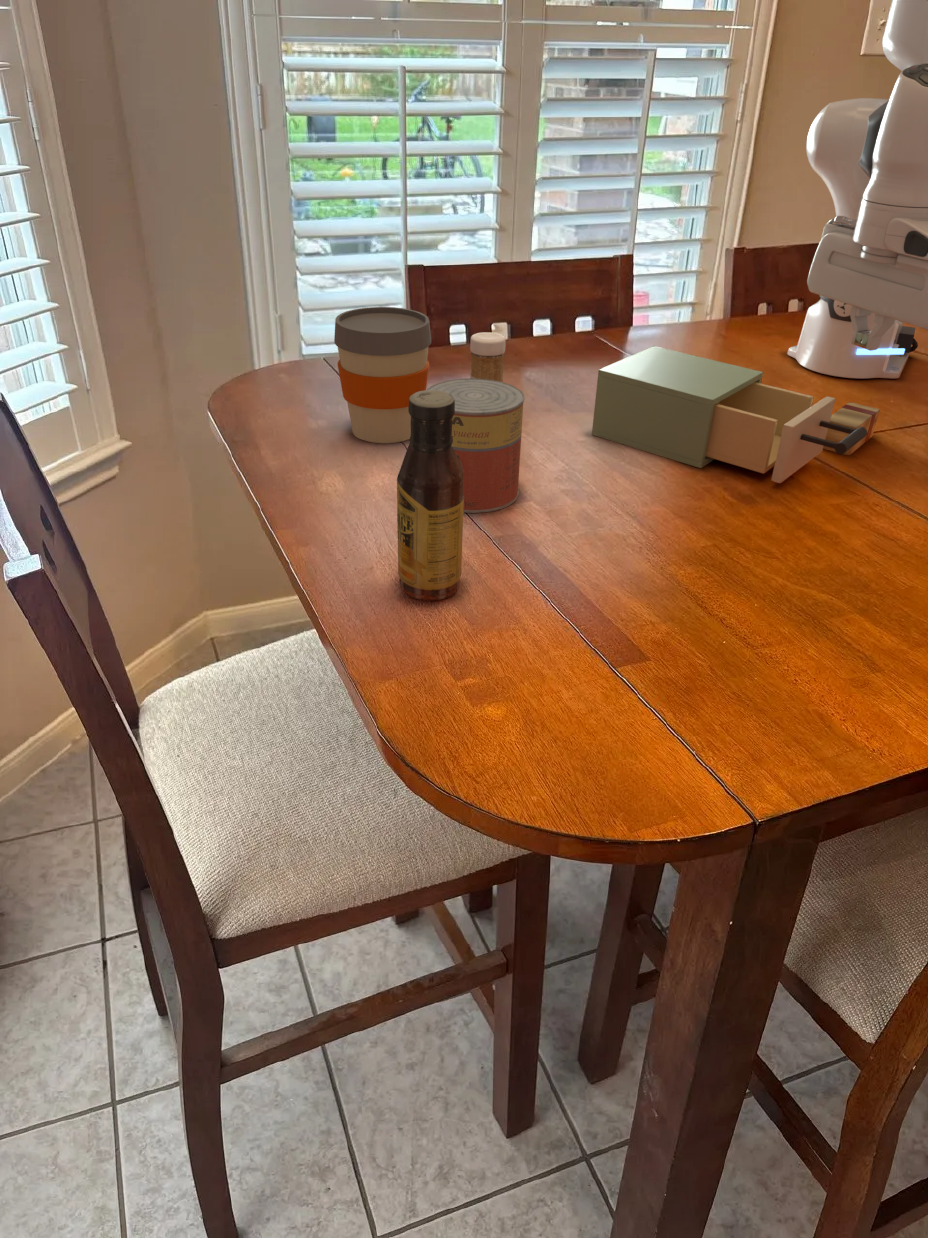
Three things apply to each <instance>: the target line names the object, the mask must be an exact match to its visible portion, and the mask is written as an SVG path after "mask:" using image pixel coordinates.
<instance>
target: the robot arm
mask: <svg viewBox="0 0 928 1238" xmlns="http://www.w3.org/2000/svg"><path fill="white" fill-rule="evenodd" d="M888 12H889V13H888V16H887V19H886V23H885V28H884V32H883V36H882V51H883V53H884V57H886V59H887V61H889V62H890V64H892V65H893V66H895V67H896V68H897V69H898V70H900V73H899V74H898V76H897V78H896V81H895V83H894V86H893V88H892V91H891V93H890V96H889V98H875V97H874V98H873V97H872V98H871V97H858V98H851V99H844V100H836V101H833V102H829V103H828V104H827V105H825V106H824V107H823V108H822V109H821V110H820V111H819V112H818V114H817V115H816V116H815V118H814V119H813V121H812V123H811V125H810V127H809V129H808V132H807V137H806V145H805V146H806V157H807V159H808V163H809V164H810V165H809V166H810V167H811V169H812V170H813V171H814V172H815V173H816V175H818V176H819V178H820V179H821V180H822V181H823V183H824V184H825V186H826V187H827V189H828V191H829V193H830V196H831V198H832V201H833V206H834V210H835V211H834V212H835V217H834V218H832V219H830V220H829V221H828V222H827V223H825V225H824V227H823V231H822V234H821V239H820V241H819V243H818V245H817V248H816V251H815V253H814V256H813V258H812V262H811V264H810V268H809V272H808V274H807V275H808V276H807V280H806V284H807V288H808V290H809V292H810V293H812V294H815V295H818V296H819V298H820V299H819V300H818V301H817V302H816V303H814V304H812V305H811V306H808V309H807V311H806V313H805V318H804V320H803V321H804V322H803V325H802V328H801V332H800V335H799V338H798V342H797V345H794V346H791V347H789V348H788V350H787V352H786V354H787V355H788V356H789V357H792V358H793V359H795V360H796V361H797V363H798V364H799V365H800V366H802V367H804V368H806V369H808V370H810V371H812V372H816V373H819V374H822V375H823V374H824V375H827V376H833V377H838V378H847V379H879V378H880V379H899V378H901V374H902V372H903V370H904V368H905V366H906V364H907V362H908V359H909V356H910V353H912V352H914V351H916V350H917V349H918V347H919V344H918V341H917V340H916V339H915V334H916V327H917V328H920V329H923V330H926V331H928V0H891V2H890V6H889V11H888ZM904 323H905V324H908V325H909V326H907V325H906V326H905V325H904ZM910 325H911V326H910ZM913 326H914V327H913Z"/></svg>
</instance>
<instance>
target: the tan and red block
mask: <svg viewBox="0 0 928 1238" xmlns="http://www.w3.org/2000/svg"><path fill="white" fill-rule="evenodd" d="M880 411H881V409H880V408H877V407H872V406H868V405H864V404H860V403H856V402H853V401H849V402H848V403H846V404H844V405H843V406H841V408H840V409H838V410H837V411H835V412H834V413H832V415H831V418H830V423H834V424H838V425H842V426H845V427H849V428H853V429H855V430H856V429H857V428H859V427H864V428H865V429H866V430H867V435H866V436H865V437H864V438H863V439H862V440H860V441H859V442H858V443H857V444H855V445H854V446H853V447H852V448H850V449H849V450H848V451H846V452H845V453H844V454H843V455H845V456H848V457H849V456H851V455H852V454H853V453H854V452H855V451H857V450H858V449H859V448H861V446H863V445H864V444H866V443H867V442H869V440H870V439H872V437H873V436H874V432H875V429H876V426H877V422H878V418H879V414H880ZM848 435H849V434H848V433H844V432H841V431H837V430H833V429H829V428H828V430H827V434H826V438H825V440H828V441H832V442H836V443H839V442H840V441H841V440H843V439H844V438H845V437H847V436H848ZM823 450H826V451H829V452H834V453H836V451H835V449H834V448H830V447H826V446H823Z"/></svg>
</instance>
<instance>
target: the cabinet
mask: <svg viewBox="0 0 928 1238" xmlns="http://www.w3.org/2000/svg"><path fill="white" fill-rule="evenodd" d="M597 371H598V372H597V381H596V390H595V391H596V392H595V399H594V402H595V403H594V408H593V409H594V410H593V419H592V427H591V428H592V430H591V435H592V436H594V437H598V438H601V439H605V440H607V441H611V442H614V443H618V444H620V445H624V446H627V447H630V448H633V449H637V450H640V451H643V452H647V453H650V454H652V455H653V454H654V455H657V456H660V457H662V458H666V459H669V460H673V461H675V462H678V463H681V464H685V465H689V466H692V467H695V468H698V469H702V468H703V467H705V466H707V465H708V464H710V463H711V462H713V461H715V459H713V458H710V457H707V456H706V450H707V444H708V439H709V433H710V428H711V422H712V417H713V411H714V406H715V404H716V403H718V402H720V401H722V400H723V399H725V398H727V397H729V396H731V395H732V394H734V393H736V392H738V391H740V390H741V389H743V388H745V387H747V386H748V385H750V384H752V383H754V382H757V383H761V384H762V381H763V376H764V371H761V370H757V369H752V368H749V367H744V366H740V365H735V364H732V363H728V362H723V361H719V360H715V359H711V358H706V357H703V356H698V355H693V354H689V353H685V352H681V351H677V350H673V349H670V348H669V349H668V348H664V347H660V346H656V345H653V346H650V347H648V348H646V349H644V350H641V351H639V352H636V353H634V354H632V355H629V356H627V357H625V358H623V359H620V360H618V361H616V362H613V363H611V364H609V365H607V366H604V367H602V368H599V369H598V370H597Z"/></svg>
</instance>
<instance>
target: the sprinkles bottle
mask: <svg viewBox="0 0 928 1238" xmlns="http://www.w3.org/2000/svg"><path fill="white" fill-rule="evenodd" d="M469 341H470V343H469V344H470V345H469V350H470V355H471V356H470V357H471V358H470V374H469V378H474V379H488V380H495V381H500V382H504V379H503V377H504V372H503V371H504V356H505V353H506V347H507V340H506V336H504V335H503V334H501V333H498V332H490V331H489V332H488V331H487V332H486V331H485V332H484V331H483V332H477V333H474V334H472V335H471V336H470V340H469Z"/></svg>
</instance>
